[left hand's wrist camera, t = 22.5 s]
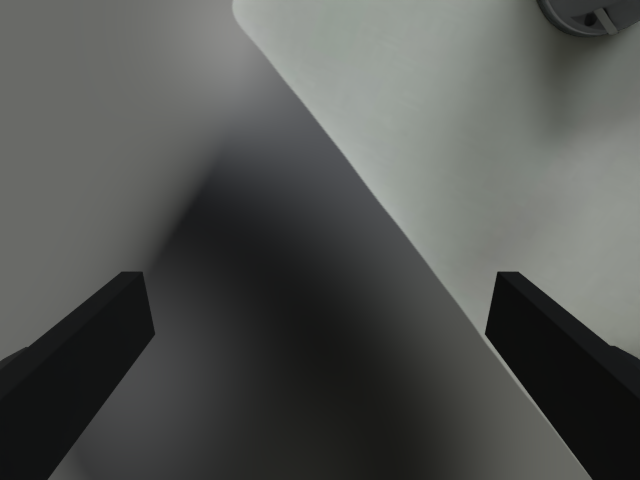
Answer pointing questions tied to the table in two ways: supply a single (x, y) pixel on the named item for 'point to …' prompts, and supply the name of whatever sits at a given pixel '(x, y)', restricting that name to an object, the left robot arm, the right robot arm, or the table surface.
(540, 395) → the left robot arm
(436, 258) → the table surface
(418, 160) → the table surface
